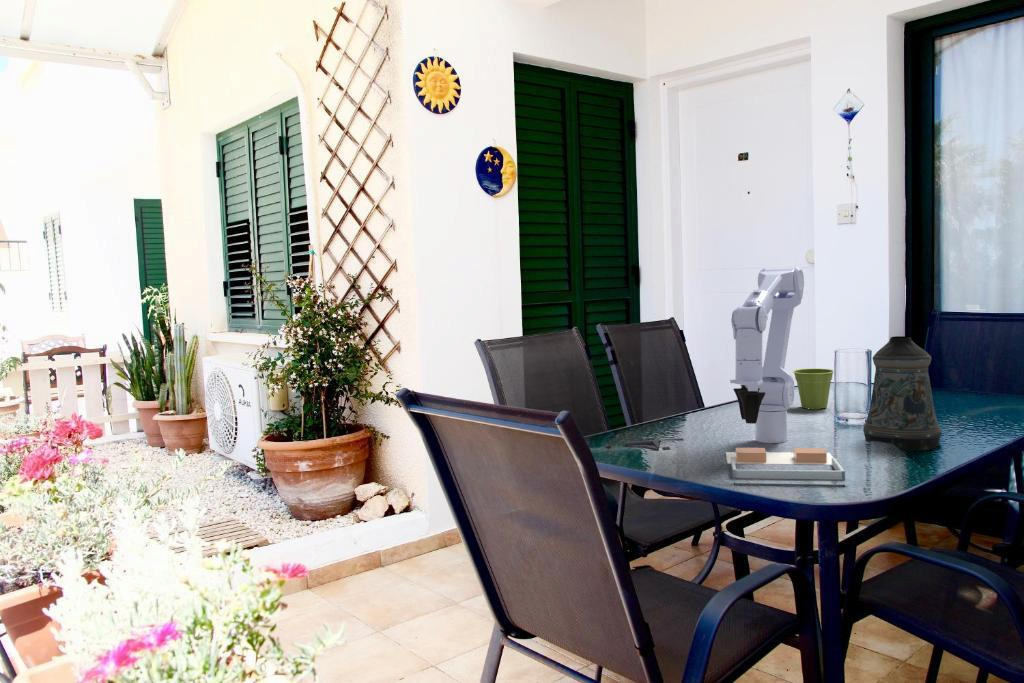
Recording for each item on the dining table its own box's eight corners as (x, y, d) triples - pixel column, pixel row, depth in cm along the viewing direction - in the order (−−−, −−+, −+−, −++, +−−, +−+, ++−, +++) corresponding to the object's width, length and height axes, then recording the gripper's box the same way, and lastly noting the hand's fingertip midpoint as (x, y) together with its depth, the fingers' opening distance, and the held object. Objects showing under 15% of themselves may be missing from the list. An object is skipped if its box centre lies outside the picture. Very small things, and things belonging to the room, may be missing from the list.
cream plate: (725, 458, 180) (725, 452, 180) (829, 459, 175) (829, 452, 175) (727, 470, 169) (727, 463, 169) (838, 471, 164) (838, 464, 164)
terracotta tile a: (735, 456, 175) (735, 447, 175) (764, 456, 174) (764, 447, 173) (737, 461, 170) (736, 452, 170) (766, 462, 169) (766, 452, 169)
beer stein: (894, 453, 178) (893, 341, 176) (841, 437, 197) (840, 336, 195) (958, 447, 181) (958, 337, 180) (900, 432, 200) (899, 332, 199)
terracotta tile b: (793, 457, 172) (793, 448, 172) (823, 457, 171) (822, 448, 171) (796, 462, 167) (796, 453, 167) (826, 462, 166) (826, 453, 166)
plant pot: (788, 405, 247) (787, 369, 246) (827, 404, 246) (826, 367, 245) (800, 411, 235) (799, 373, 234) (841, 410, 234) (840, 372, 234)
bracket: (637, 461, 184) (637, 449, 184) (625, 447, 199) (624, 436, 199) (699, 458, 185) (698, 446, 185) (682, 444, 200) (681, 433, 200)
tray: (731, 470, 169) (730, 456, 169) (834, 471, 164) (834, 457, 164) (733, 485, 157) (733, 470, 157) (845, 486, 153) (845, 471, 152)
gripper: (727, 358, 185) (726, 417, 185) (733, 361, 171) (733, 424, 171) (758, 359, 184) (758, 417, 184) (768, 361, 170) (767, 425, 170)
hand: (748, 421), depth 178 cm, fingers open, 7 cm apart
